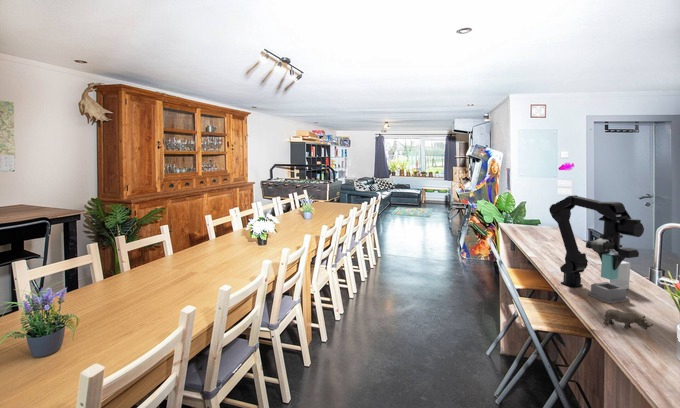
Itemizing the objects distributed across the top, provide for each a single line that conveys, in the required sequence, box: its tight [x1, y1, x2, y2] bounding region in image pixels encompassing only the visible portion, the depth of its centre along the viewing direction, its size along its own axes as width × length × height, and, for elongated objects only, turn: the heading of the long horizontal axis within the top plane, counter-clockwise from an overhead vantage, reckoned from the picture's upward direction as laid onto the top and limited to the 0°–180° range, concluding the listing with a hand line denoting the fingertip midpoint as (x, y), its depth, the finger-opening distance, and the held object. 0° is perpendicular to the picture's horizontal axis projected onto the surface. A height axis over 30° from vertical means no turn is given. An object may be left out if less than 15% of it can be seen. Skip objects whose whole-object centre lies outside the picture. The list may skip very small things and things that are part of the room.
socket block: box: [587, 281, 630, 304], centre depth 153 cm, size 10×10×5 cm
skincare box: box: [609, 260, 631, 289], centre depth 163 cm, size 6×4×12 cm
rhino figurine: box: [603, 308, 654, 331], centre depth 126 cm, size 4×14×6 cm, turn 53°
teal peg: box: [600, 252, 618, 281], centre depth 151 cm, size 4×4×10 cm
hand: (609, 268), depth 151 cm, fingers closed on teal peg, 4 cm apart
